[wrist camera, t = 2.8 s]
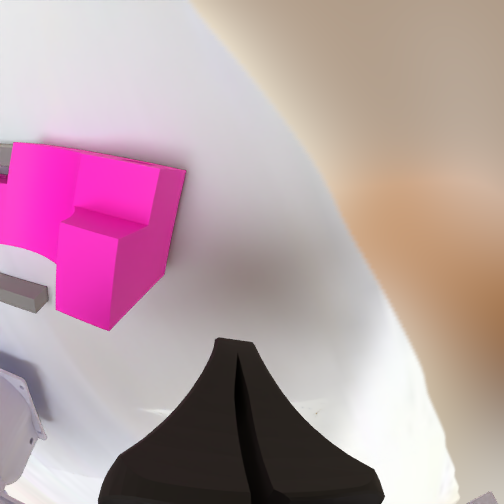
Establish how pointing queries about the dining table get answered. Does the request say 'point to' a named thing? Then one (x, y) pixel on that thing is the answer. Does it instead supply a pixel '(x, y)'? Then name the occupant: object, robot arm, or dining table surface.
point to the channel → (14, 288)
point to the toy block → (91, 224)
